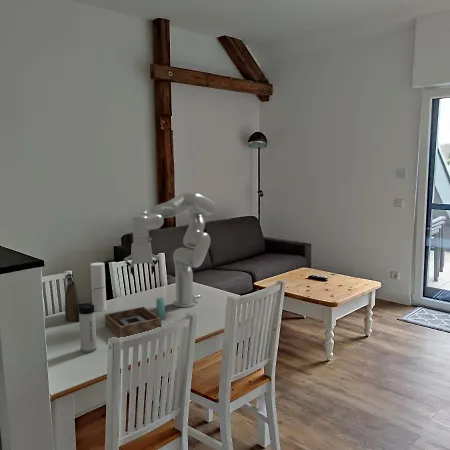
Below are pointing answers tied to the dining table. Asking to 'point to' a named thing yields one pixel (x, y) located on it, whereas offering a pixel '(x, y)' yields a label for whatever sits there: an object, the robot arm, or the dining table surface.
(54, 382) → the dining table surface
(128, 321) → the bore plate
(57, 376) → the dining table surface
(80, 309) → the travel mug
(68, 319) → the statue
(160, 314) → the peg
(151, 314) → the box
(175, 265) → the robot arm
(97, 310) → the cylindrical container
